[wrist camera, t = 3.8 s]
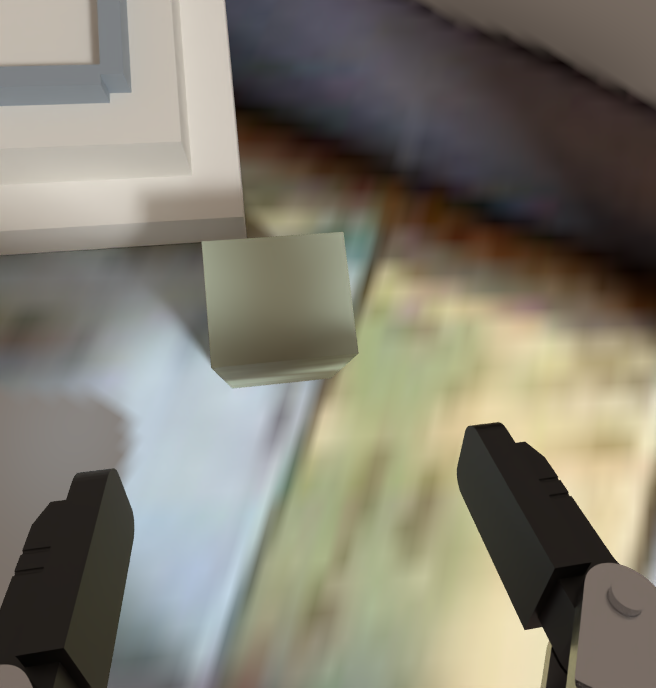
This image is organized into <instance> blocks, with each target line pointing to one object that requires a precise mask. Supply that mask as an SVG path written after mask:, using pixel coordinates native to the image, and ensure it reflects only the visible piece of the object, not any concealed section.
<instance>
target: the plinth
mask: <svg viewBox="0 0 656 688" xmlns="http://www.w3.org/2000/svg"><path fill="white" fill-rule="evenodd" d="M246 238H247V234H246V223H245V212H244V202H243V191H242V180H241V169H240V158H239V147H238V136H237V125H236V114H235V103H234V92H233V82H232V71H231V60H230V49H229V38H228V27H227V16H226V5H225V0H0V255H14V254H29V253H44V252H59V251H74V250H89V249H105V248H120V247H135V246H150V245H165V244H180V243H195V242H202V241H216V240H231V239H246Z"/></svg>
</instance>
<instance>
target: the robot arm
mask: <svg viewBox="0 0 656 688" xmlns="http://www.w3.org/2000/svg"><path fill="white" fill-rule="evenodd" d="M457 480H458V485H459V489H460V492H461V494H462V497H463V499H464V501H465V503H466V505H467V507H468V509H469V512H470V514H471V516H472V518H473V520H474V522H475V524H476V527H477V529H478V531H479V533H480V535H481V537H482V540H483V542H484V544H485V546H486V548H487V550H488V552H489V555H490V557H491V559H492V561H493V563H494V565H495V567H496V570H497V572H498V574H499V576H500V578H501V580H502V582H503V585H504V587H505V589H506V591H507V593H508V595H509V598H510V600H511V602H512V604H513V606H514V608H515V610H516V613H517V615H518V617H519V619H520V621H521V623H522V625H523V628H524V630H528V629H533V628H539V627H543V629H544V631H545V633H546V635H547V637H548V639H549V642H548V645H547V650H546V656H545V663H544V670H543V676H542V683H541V688H656V587H655V586H654V585H653V584H652V583H651V582H650V581H649V580H648V579H646V578H645V577H644V576H643V575H641V574H640V573H638V572H636V571H635V570H633V569H631V568H628V567H626V566H623V565H620V564H619V563H618V562H617V561H616V560H615V559H614V557H613V556H612V555H611V553H610V552H609V550H608V549H607V547H606V546H605V545H604V543H603V542H602V540H601V539H600V537H599V536H598V534H597V533H596V531H595V530H594V528H593V527H592V526H591V524H590V523H589V521H588V520H587V518H586V517H585V515H584V514H583V512H582V511H581V510H580V508H579V507H578V505H577V504H576V502H575V501H574V499H573V498H572V496H569V494H568V491H567V489H566V488H565V486H564V485H563V483H562V482H561V480H558V476H557V474H556V473H555V472H554V470H553V469H552V467H551V466H550V464H549V463H548V461H547V460H546V458H545V457H544V456H543V455H541V454H540V453H539V452H537V451H536V450H535V449H534V448H532V447H531V446H530V445H529V444H527V443H526V442H519V443H515V441H514V440H513V438H512V437H511V435H510V434H509V432H508V431H507V429H506V428H505V426H504V425H503V424H501V423H499V422H497V423H489V424H480V425H472V426H468V427H467V428H466V431H465V435H464V439H463V444H462V448H461V453H460V457H459V461H458V466H457ZM133 539H134V516H133V511H132V508H131V506H130V503H129V500H128V498H127V495H126V492H125V490H124V487H123V485H122V482H121V479H120V477H119V474H118V472H117V470H116V469H114V468H113V469H106V470H97V471H89V472H81V473H77V474H76V475H75V476H74V478H73V481H72V484H71V486H70V490H69V493H68V496H67V499H66V500H62V501H54V502H50V503H49V505H48V506H47V507H46V508H45V510H44V511H43V512H42V513H41V514H40V516H39V517H38V518H37V519H36V521H35V522H34V523H33V524H32V526H31V529H30V532H29V534H28V537H27V539H26V542H25V545H24V548H23V554H22V555H21V556H20V558H19V561H18V563H17V566H16V568H15V576H13V577H12V579H11V582H10V584H9V587H8V590H7V592H6V595H5V598H4V600H3V603H2V606H1V608H0V688H107V684H108V679H109V673H110V668H111V662H112V656H113V651H114V645H115V640H116V634H117V629H118V623H119V617H120V612H121V606H122V601H123V595H124V590H125V584H126V578H127V573H128V567H129V562H130V556H131V550H132V545H133Z"/></svg>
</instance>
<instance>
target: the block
mask: <svg viewBox="0 0 656 688" xmlns="http://www.w3.org/2000/svg"><path fill="white" fill-rule="evenodd" d="M202 254H203V267H204V280H205V293H206V306H207V319H208V332H209V345H210V358H211V368H212V369H213V370H214V371H215V372H216V373H217V374H218V375H219V376H220V377H221V378H222V379H223V380H224V381H225V382H226V383H227V384H228V385H229V386H230V387H231V388H242V387H252V386H261V385H271V384H281V383H290V382H300V381H309V380H319V379H328V378H332V377H333V376H334V375H335V374H336V373H337V372H339V371H340V370H341V369H342V368H343V367H344V366H345V365H346V364H347V363H348V362H350V361H351V360H352V359H353V358H354V357H355V356H356V355H357V354H358V345H357V338H356V330H355V322H354V314H353V306H352V298H351V290H350V282H349V274H348V266H347V258H346V250H345V242H344V234H343V232H335V233H320V234H305V235H291V236H276V237H261V238H246V239H231V240H216V241H202Z"/></svg>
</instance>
